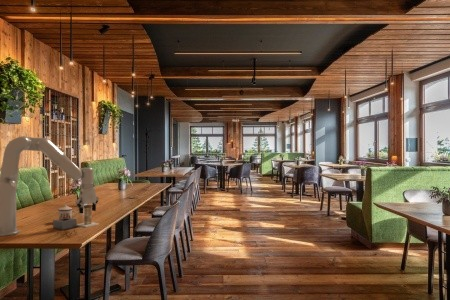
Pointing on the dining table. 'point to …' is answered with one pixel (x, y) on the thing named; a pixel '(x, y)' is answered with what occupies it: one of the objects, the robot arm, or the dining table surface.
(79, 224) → the tile
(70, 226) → the eye block
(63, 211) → the teacup with lid
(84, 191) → the robot arm
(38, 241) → the dining table surface
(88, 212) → the peg
